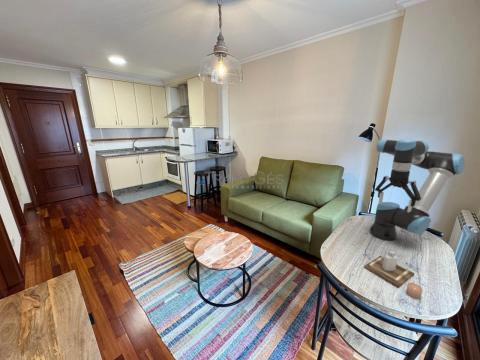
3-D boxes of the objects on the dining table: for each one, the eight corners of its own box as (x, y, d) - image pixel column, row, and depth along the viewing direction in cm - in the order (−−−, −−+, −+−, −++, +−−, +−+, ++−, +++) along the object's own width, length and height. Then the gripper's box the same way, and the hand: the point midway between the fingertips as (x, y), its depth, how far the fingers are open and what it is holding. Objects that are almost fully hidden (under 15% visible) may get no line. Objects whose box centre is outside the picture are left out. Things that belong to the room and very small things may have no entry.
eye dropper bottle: (395, 273, 100) (400, 253, 96) (382, 270, 102) (386, 250, 99) (394, 268, 103) (399, 248, 100) (381, 264, 106) (385, 245, 103)
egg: (409, 288, 93) (410, 281, 92) (422, 295, 88) (424, 288, 87) (403, 292, 90) (405, 285, 89) (417, 300, 86) (419, 293, 85)
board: (379, 257, 113) (380, 253, 113) (414, 275, 100) (415, 271, 99) (363, 267, 106) (364, 263, 106) (398, 288, 93) (399, 284, 92)
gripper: (371, 167, 110) (366, 201, 116) (429, 176, 90) (420, 217, 96) (378, 164, 114) (373, 198, 120) (435, 173, 93) (426, 213, 99)
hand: (393, 207), depth 108 cm, fingers open, 13 cm apart
